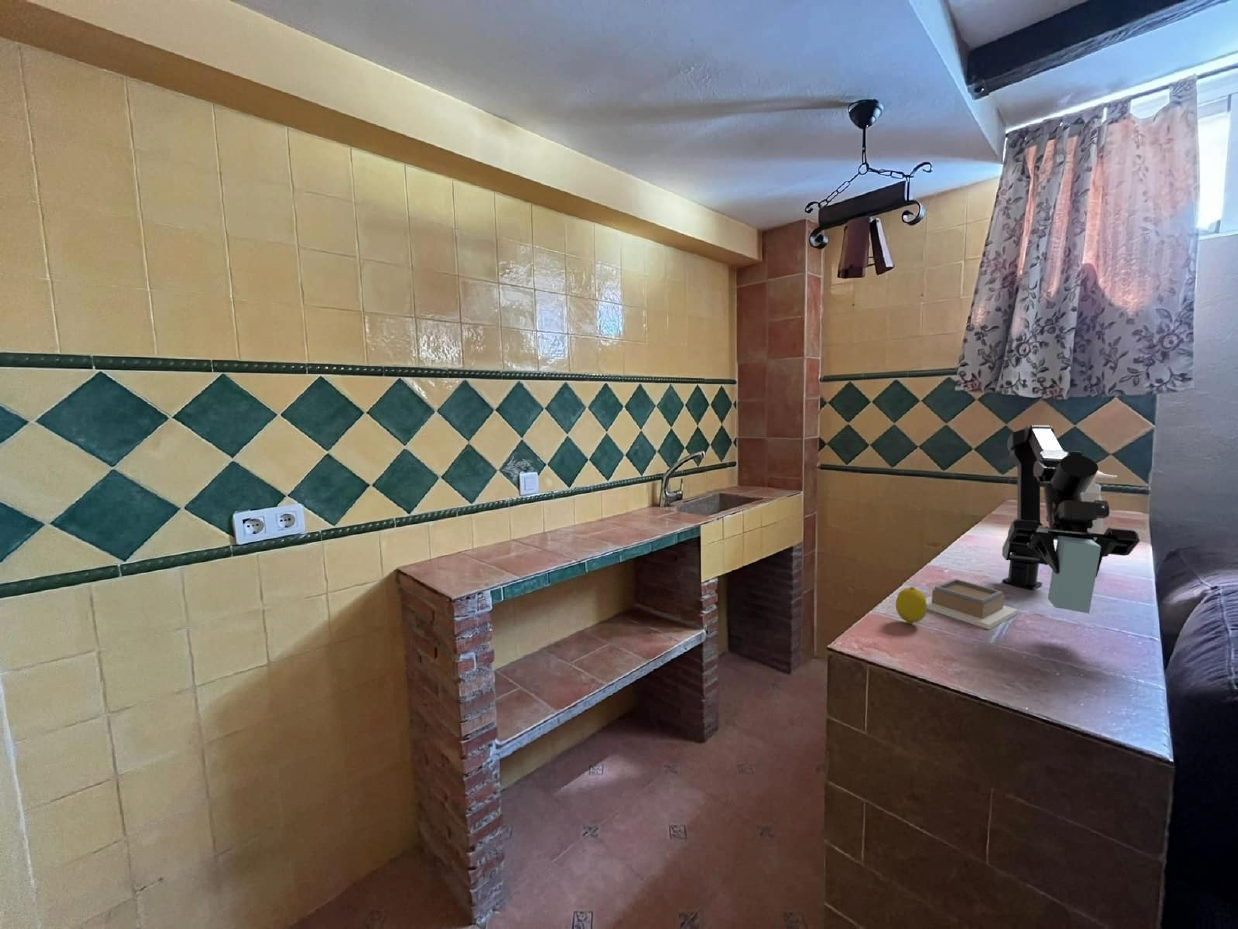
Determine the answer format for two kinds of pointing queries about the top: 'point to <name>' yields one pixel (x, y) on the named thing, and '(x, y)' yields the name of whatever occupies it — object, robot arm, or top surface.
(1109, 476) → the soap bottle
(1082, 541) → the pillar
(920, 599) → the lemon
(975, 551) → the top surface
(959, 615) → the build base
